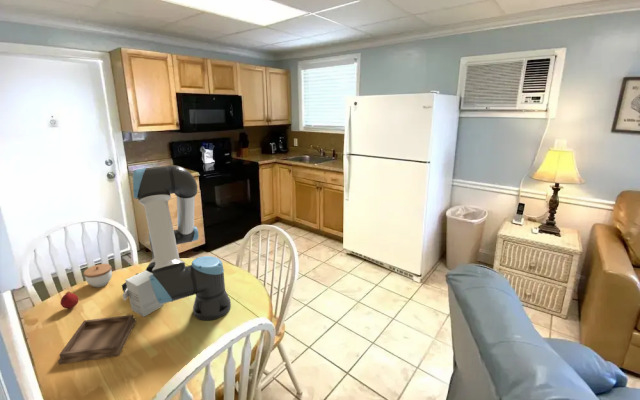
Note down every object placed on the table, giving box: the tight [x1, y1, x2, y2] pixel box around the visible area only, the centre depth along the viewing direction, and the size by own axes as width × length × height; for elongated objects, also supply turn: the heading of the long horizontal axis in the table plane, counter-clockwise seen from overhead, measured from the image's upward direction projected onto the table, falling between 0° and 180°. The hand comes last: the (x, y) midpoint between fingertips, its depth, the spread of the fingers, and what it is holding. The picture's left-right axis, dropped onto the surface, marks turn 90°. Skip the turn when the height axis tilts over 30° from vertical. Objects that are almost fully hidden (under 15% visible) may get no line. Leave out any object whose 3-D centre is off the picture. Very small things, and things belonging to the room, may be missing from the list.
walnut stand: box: [57, 314, 137, 365], centre depth 114 cm, size 18×18×4 cm
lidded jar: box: [83, 263, 113, 288], centre depth 147 cm, size 11×11×9 cm
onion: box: [60, 291, 79, 310], centre depth 130 cm, size 6×6×8 cm
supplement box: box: [125, 269, 164, 318], centre depth 130 cm, size 9×9×15 cm
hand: (141, 295), depth 126 cm, fingers closed on supplement box, 12 cm apart
